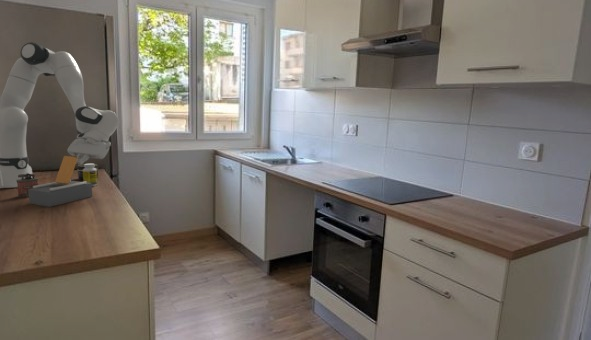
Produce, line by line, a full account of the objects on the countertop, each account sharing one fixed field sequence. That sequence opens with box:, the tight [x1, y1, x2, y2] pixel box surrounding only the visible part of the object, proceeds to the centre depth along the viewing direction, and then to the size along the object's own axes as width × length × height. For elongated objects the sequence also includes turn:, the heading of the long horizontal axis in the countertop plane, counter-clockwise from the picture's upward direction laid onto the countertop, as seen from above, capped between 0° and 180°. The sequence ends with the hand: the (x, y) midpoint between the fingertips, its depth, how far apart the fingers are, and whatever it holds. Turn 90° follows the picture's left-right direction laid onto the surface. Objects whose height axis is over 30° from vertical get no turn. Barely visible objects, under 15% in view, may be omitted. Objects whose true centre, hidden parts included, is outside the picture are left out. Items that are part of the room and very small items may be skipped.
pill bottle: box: [82, 162, 98, 187], centre depth 194 cm, size 6×6×11 cm
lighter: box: [16, 173, 39, 198], centre depth 172 cm, size 8×3×10 cm, turn 135°
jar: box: [76, 163, 99, 181], centre depth 211 cm, size 10×10×8 cm
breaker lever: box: [54, 155, 78, 185], centre depth 167 cm, size 6×2×12 cm, turn 68°
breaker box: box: [28, 179, 93, 208], centre depth 165 cm, size 12×20×7 cm, turn 158°
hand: (78, 163), depth 172 cm, fingers closed
